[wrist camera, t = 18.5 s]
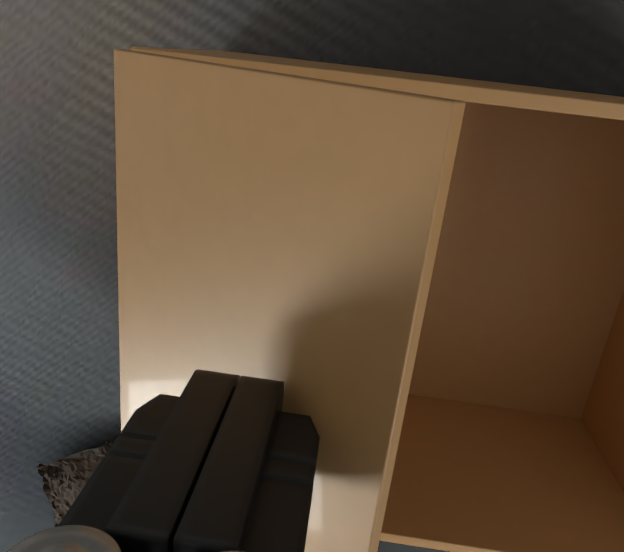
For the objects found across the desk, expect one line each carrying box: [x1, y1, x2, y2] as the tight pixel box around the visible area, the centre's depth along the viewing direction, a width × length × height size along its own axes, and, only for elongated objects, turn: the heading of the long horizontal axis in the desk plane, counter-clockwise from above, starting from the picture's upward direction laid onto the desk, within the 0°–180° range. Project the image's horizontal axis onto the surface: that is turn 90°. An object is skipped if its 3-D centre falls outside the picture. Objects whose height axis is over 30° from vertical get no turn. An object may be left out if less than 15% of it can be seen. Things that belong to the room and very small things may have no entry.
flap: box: [114, 49, 465, 552], centre depth 11 cm, size 7×12×1 cm
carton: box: [130, 47, 624, 552], centre depth 16 cm, size 15×12×7 cm
